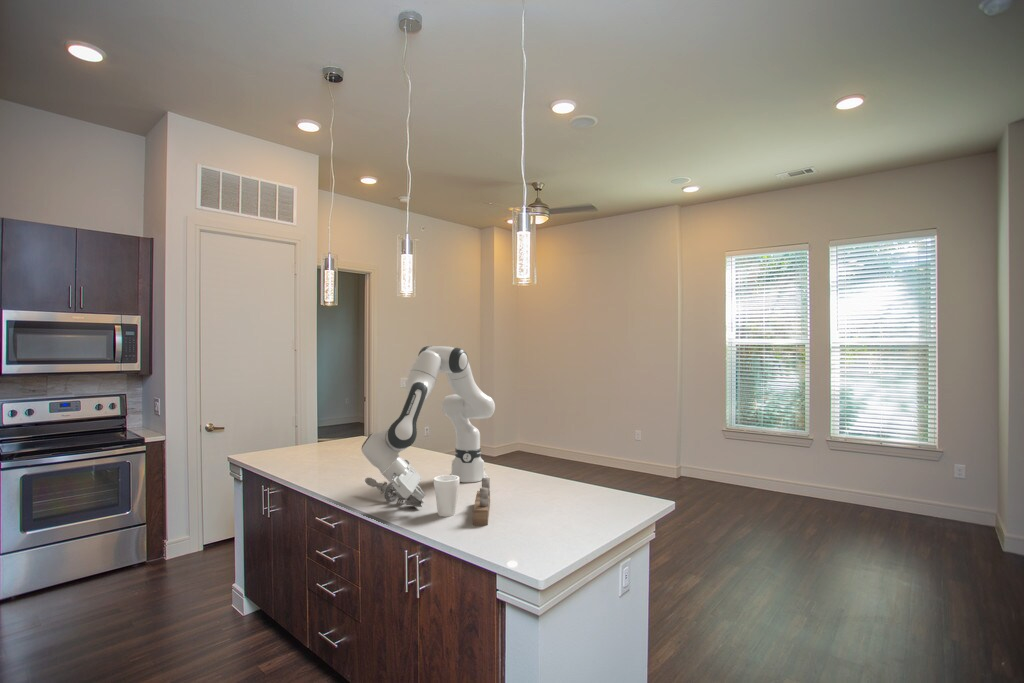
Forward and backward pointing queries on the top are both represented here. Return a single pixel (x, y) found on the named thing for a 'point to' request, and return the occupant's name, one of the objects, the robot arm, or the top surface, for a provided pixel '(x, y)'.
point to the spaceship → (393, 493)
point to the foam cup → (446, 494)
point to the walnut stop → (482, 504)
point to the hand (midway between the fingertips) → (423, 497)
